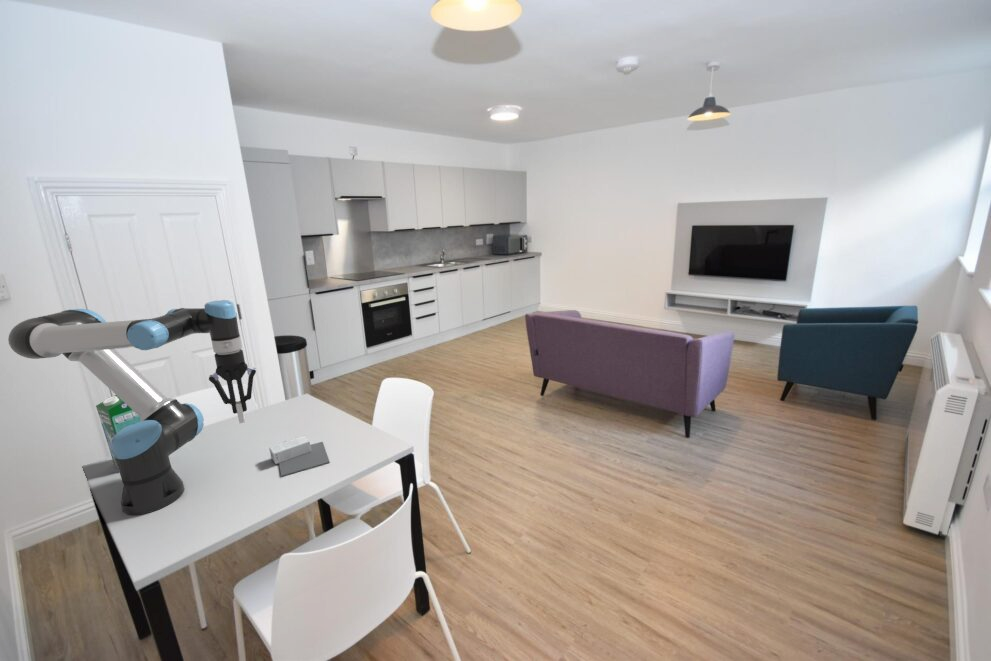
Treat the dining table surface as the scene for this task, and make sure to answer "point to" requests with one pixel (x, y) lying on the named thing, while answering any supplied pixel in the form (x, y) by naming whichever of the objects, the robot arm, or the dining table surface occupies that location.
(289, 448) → the skincare box
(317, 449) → the mat
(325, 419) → the dining table surface
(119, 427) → the milk carton
